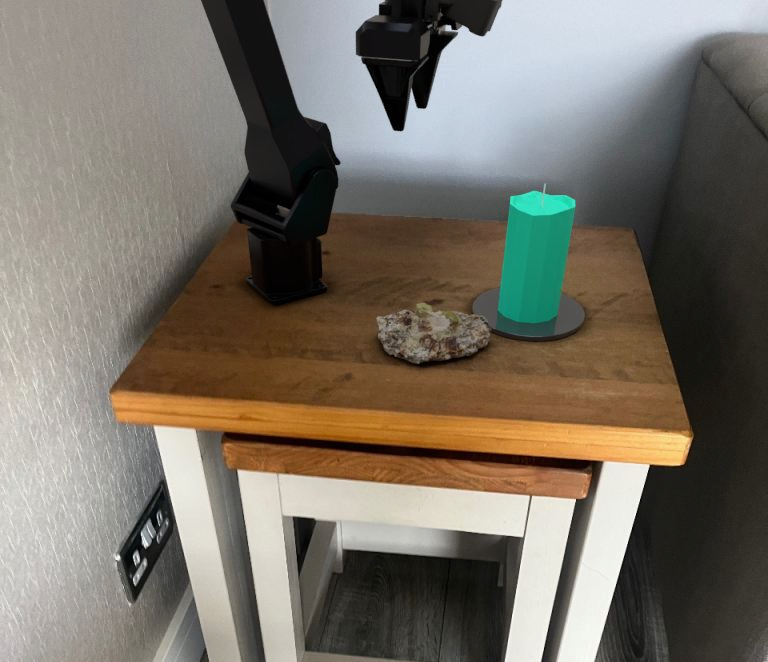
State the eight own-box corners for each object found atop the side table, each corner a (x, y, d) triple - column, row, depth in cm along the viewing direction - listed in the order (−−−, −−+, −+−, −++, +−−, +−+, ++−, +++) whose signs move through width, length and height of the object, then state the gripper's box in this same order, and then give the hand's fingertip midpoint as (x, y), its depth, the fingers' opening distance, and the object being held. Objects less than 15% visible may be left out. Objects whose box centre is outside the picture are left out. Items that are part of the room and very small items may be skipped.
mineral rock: (376, 346, 67) (376, 283, 72) (374, 381, 71) (374, 319, 75) (499, 350, 68) (492, 287, 72) (491, 384, 71) (485, 322, 76)
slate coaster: (521, 352, 71) (522, 347, 71) (450, 306, 78) (450, 301, 78) (607, 322, 76) (608, 317, 76) (532, 281, 83) (533, 276, 83)
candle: (571, 312, 76) (593, 187, 69) (526, 329, 74) (544, 200, 66) (528, 290, 80) (545, 168, 72) (484, 305, 77) (497, 181, 70)
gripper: (480, -49, 64) (465, 152, 74) (518, -68, 77) (501, 104, 88) (352, -55, 66) (355, 141, 77) (410, -73, 80) (406, 95, 90)
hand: (410, 119), depth 83 cm, fingers open, 9 cm apart
